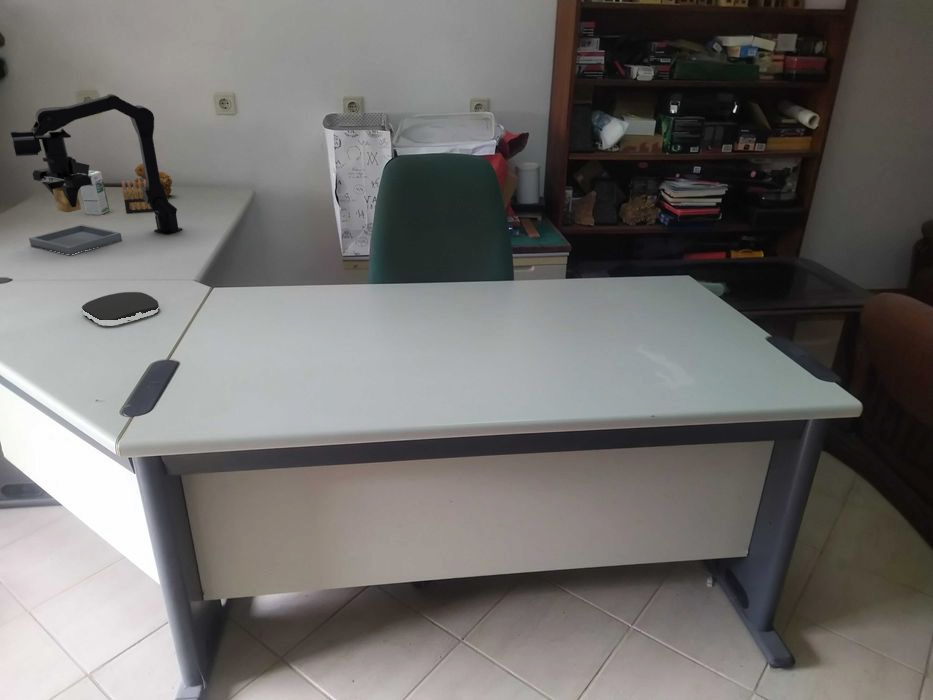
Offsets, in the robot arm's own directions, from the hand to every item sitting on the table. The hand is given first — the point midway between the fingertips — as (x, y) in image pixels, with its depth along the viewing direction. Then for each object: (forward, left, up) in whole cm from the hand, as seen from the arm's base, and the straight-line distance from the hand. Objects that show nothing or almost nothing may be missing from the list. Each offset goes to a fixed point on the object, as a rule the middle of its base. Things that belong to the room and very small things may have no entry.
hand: (68, 205), depth 201 cm
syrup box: (+25, -27, -12) cm, 39 cm away
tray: (0, 0, -12) cm, 12 cm away
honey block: (0, 0, -1) cm, 1 cm away
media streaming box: (-56, +30, -12) cm, 65 cm away
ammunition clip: (+13, -36, -12) cm, 40 cm away
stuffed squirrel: (+26, -54, -12) cm, 61 cm away
